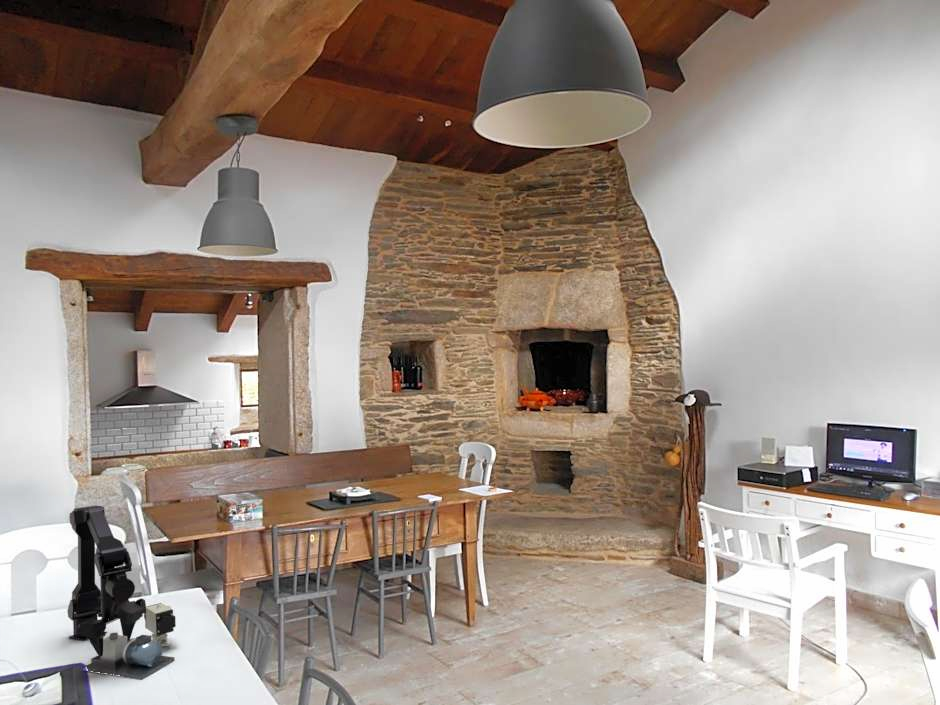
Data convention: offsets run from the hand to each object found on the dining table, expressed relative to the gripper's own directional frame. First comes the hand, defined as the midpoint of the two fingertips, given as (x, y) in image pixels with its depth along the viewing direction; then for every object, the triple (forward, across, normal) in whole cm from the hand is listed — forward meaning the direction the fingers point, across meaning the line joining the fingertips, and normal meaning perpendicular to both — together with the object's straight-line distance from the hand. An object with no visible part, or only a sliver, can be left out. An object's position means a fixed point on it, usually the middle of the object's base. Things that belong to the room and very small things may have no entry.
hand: (114, 649), depth 201 cm
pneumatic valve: (+4, +14, -3) cm, 15 cm away
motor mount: (+4, 0, -5) cm, 6 cm away
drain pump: (+3, 0, 0) cm, 3 cm away
